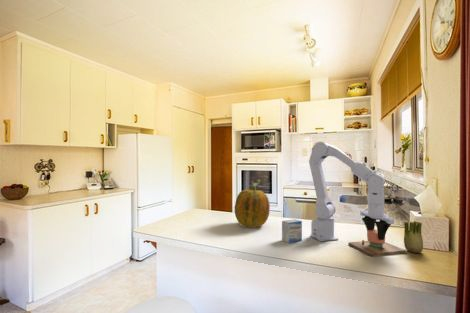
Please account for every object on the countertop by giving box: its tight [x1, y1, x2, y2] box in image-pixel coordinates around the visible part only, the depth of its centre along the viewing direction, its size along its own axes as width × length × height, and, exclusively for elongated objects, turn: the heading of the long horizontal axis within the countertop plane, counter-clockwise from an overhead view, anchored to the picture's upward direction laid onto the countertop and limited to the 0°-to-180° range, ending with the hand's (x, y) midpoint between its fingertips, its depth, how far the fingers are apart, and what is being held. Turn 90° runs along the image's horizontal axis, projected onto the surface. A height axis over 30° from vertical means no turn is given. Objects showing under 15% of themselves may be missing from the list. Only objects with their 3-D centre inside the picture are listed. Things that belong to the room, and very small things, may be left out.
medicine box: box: [281, 218, 303, 244], centre depth 101 cm, size 8×4×9 cm, turn 117°
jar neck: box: [369, 242, 383, 248], centre depth 92 cm, size 5×5×2 cm
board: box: [348, 239, 407, 257], centre depth 92 cm, size 16×12×2 cm
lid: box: [366, 228, 386, 244], centre depth 92 cm, size 6×6×4 cm
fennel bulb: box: [403, 220, 424, 254], centre depth 90 cm, size 6×5×12 cm
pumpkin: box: [234, 178, 271, 228], centre depth 122 cm, size 19×19×25 cm
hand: (375, 237), depth 92 cm, fingers closed on lid, 4 cm apart
